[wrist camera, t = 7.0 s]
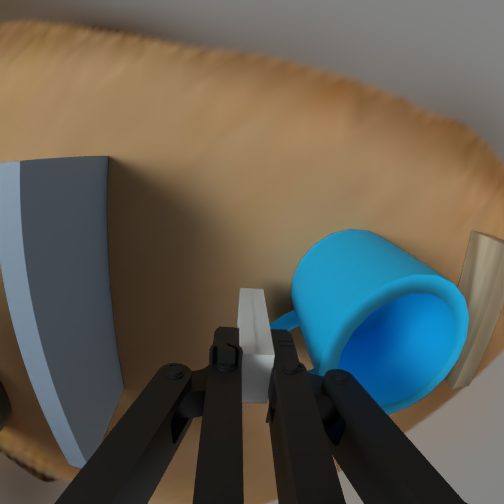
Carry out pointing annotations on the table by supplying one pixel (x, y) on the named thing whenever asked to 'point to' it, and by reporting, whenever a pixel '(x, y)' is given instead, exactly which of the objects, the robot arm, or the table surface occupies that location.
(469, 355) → the block
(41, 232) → the screen
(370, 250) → the mug
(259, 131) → the table surface
